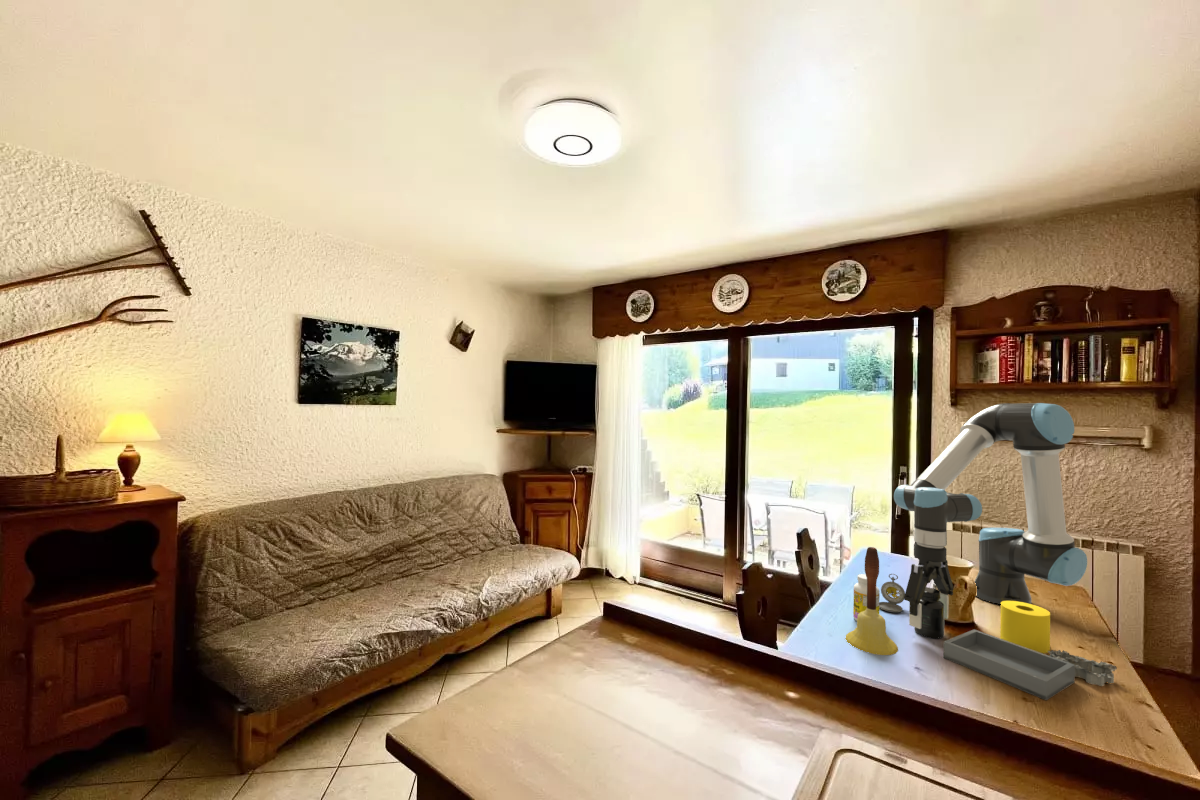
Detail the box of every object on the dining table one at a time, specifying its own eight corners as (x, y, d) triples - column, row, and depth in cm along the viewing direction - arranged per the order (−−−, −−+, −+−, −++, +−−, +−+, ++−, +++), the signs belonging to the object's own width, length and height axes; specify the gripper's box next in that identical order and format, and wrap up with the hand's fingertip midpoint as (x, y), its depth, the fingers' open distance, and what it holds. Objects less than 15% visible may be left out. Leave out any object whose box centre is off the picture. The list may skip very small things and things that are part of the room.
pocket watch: (882, 612, 149) (882, 579, 150) (872, 601, 158) (872, 570, 158) (911, 615, 148) (912, 581, 148) (900, 604, 156) (900, 572, 156)
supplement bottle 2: (928, 627, 140) (928, 584, 140) (950, 638, 133) (950, 593, 133) (908, 629, 138) (908, 586, 138) (930, 640, 132) (930, 595, 132)
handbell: (842, 629, 137) (843, 539, 138) (892, 637, 133) (893, 544, 134) (848, 649, 126) (849, 551, 126) (903, 659, 122) (904, 557, 122)
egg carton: (1120, 685, 112) (1120, 667, 112) (1095, 689, 110) (1096, 670, 111) (1066, 661, 123) (1066, 644, 123) (1043, 664, 121) (1043, 647, 121)
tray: (973, 644, 130) (974, 629, 130) (1074, 682, 112) (1074, 664, 112) (943, 657, 123) (943, 641, 123) (1046, 700, 105) (1046, 681, 105)
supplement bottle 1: (851, 614, 148) (852, 571, 148) (876, 618, 145) (877, 574, 145) (855, 623, 141) (855, 578, 141) (881, 627, 139) (881, 582, 139)
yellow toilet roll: (1016, 633, 137) (1017, 599, 137) (1059, 650, 128) (1059, 613, 128) (991, 637, 134) (991, 602, 134) (1032, 655, 125) (1033, 618, 125)
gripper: (939, 536, 145) (938, 608, 145) (889, 546, 133) (888, 625, 133) (968, 542, 139) (967, 618, 139) (918, 554, 127) (918, 637, 126)
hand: (929, 621), depth 136 cm, fingers open, 13 cm apart
